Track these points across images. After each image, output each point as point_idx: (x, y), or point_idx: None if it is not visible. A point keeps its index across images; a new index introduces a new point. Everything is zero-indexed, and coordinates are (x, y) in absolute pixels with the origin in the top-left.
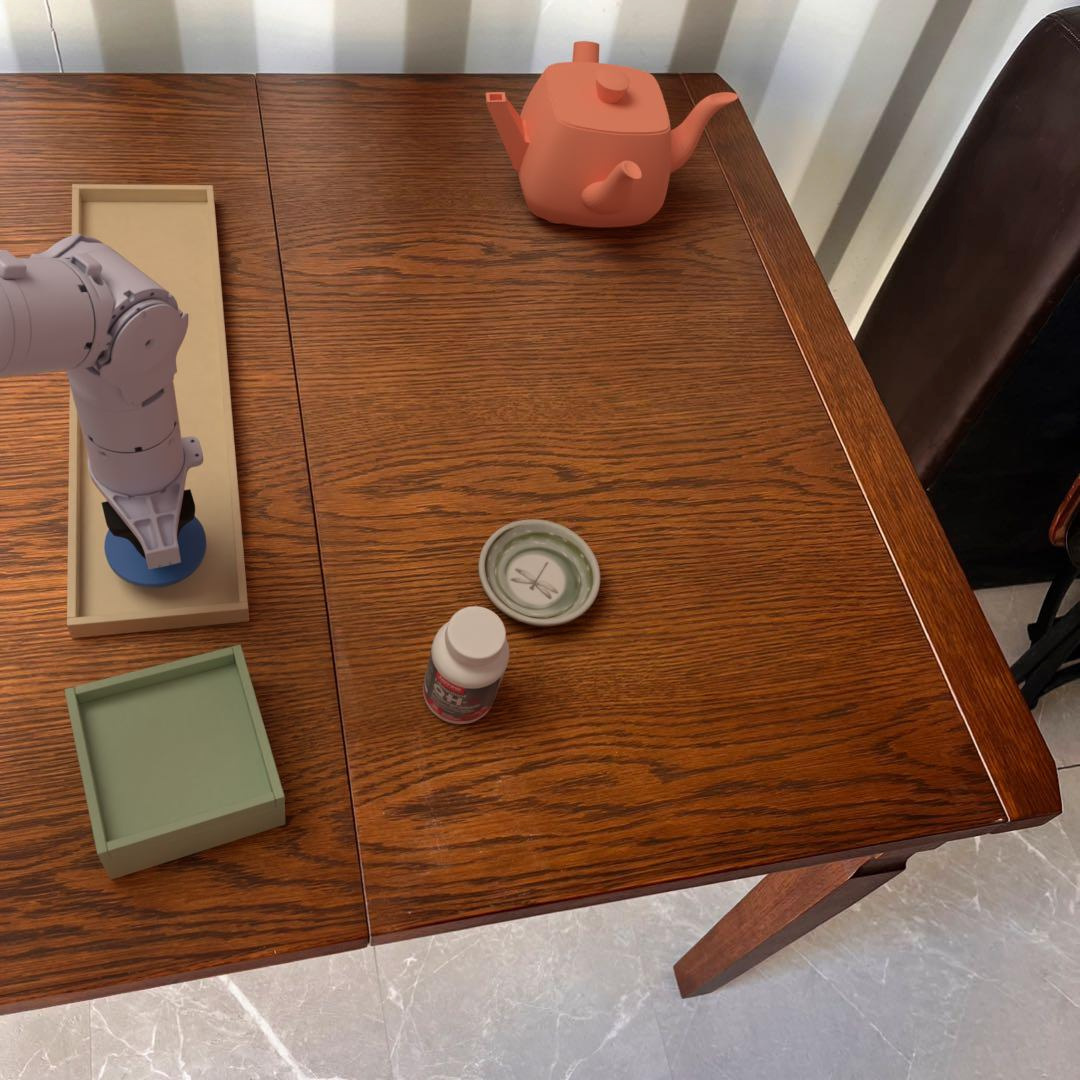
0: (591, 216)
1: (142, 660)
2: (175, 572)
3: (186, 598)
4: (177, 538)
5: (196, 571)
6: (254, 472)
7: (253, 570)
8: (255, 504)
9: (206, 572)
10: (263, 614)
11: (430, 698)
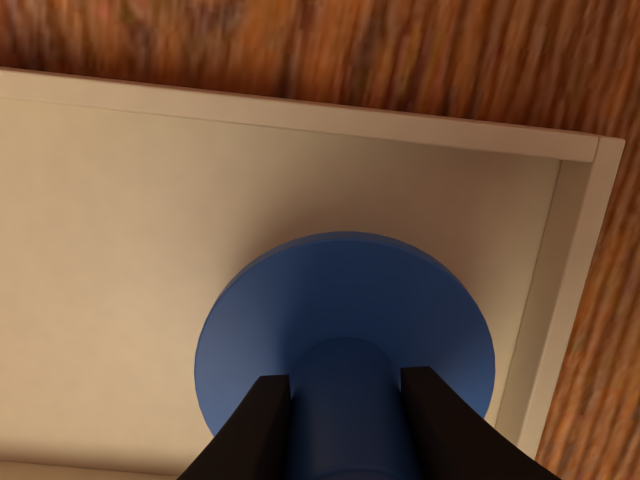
0: None
1: (589, 389)
2: (468, 344)
3: (471, 283)
4: (469, 406)
5: None
6: (51, 13)
7: (417, 87)
8: (179, 35)
9: (406, 223)
10: (571, 87)
11: None
